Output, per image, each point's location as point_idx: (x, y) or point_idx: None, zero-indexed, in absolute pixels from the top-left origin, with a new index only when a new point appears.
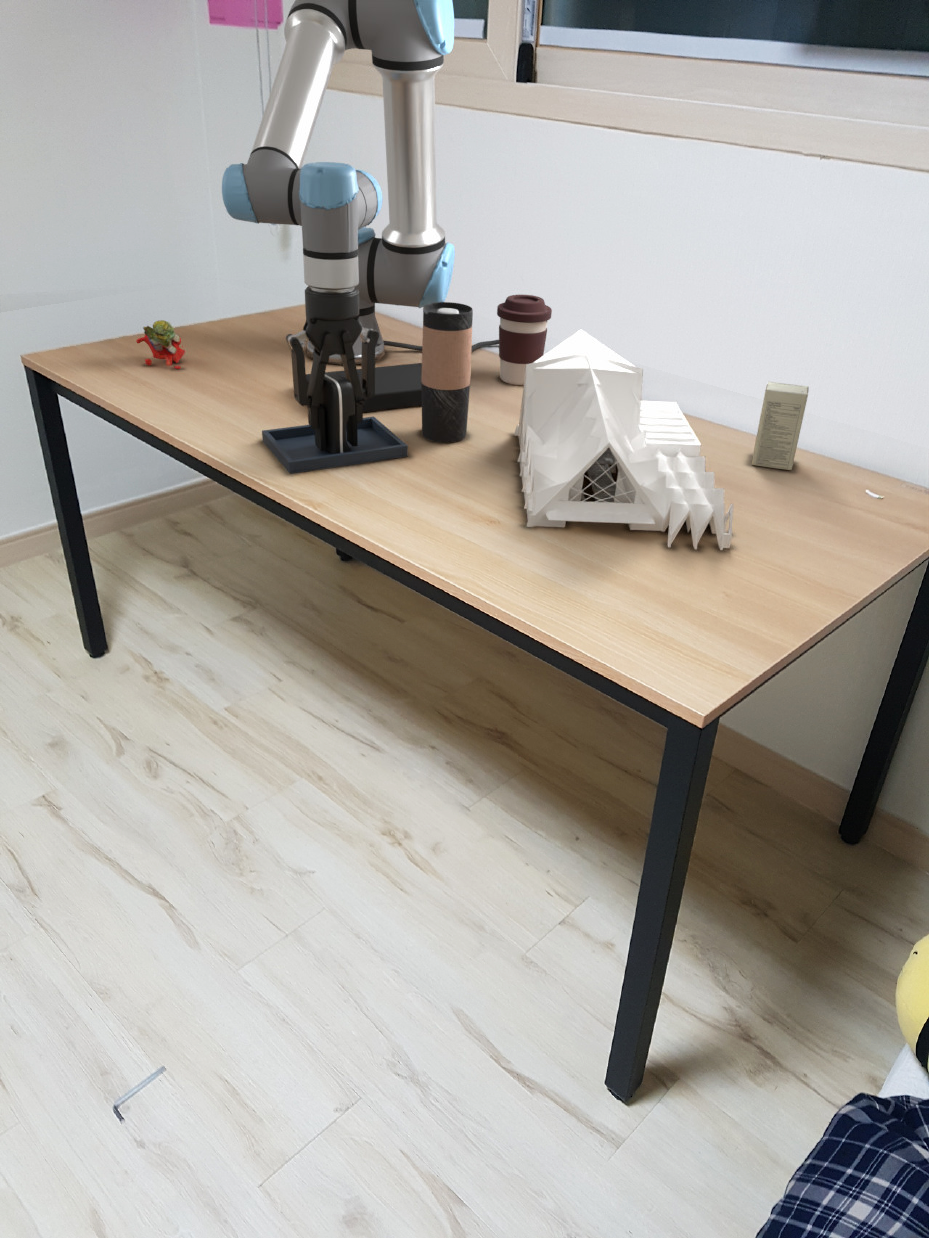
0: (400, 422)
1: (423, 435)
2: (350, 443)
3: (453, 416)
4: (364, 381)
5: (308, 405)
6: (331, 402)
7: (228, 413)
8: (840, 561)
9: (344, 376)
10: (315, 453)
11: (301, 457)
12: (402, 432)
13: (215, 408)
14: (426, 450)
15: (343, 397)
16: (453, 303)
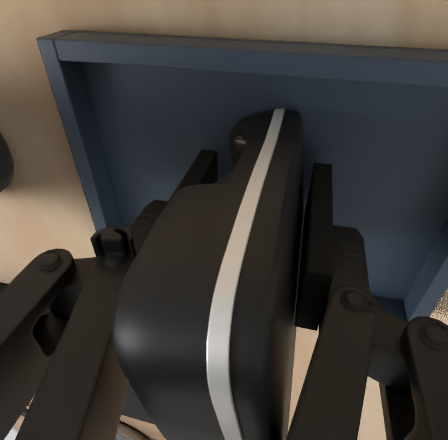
0: (61, 247)
1: (8, 155)
2: (217, 172)
3: None
4: (51, 340)
5: (384, 315)
6: (284, 267)
7: (372, 414)
8: None
9: (126, 403)
10: (341, 177)
11: (404, 170)
12: (62, 201)
13: (379, 433)
14: (2, 58)
15: (208, 257)
16: None
